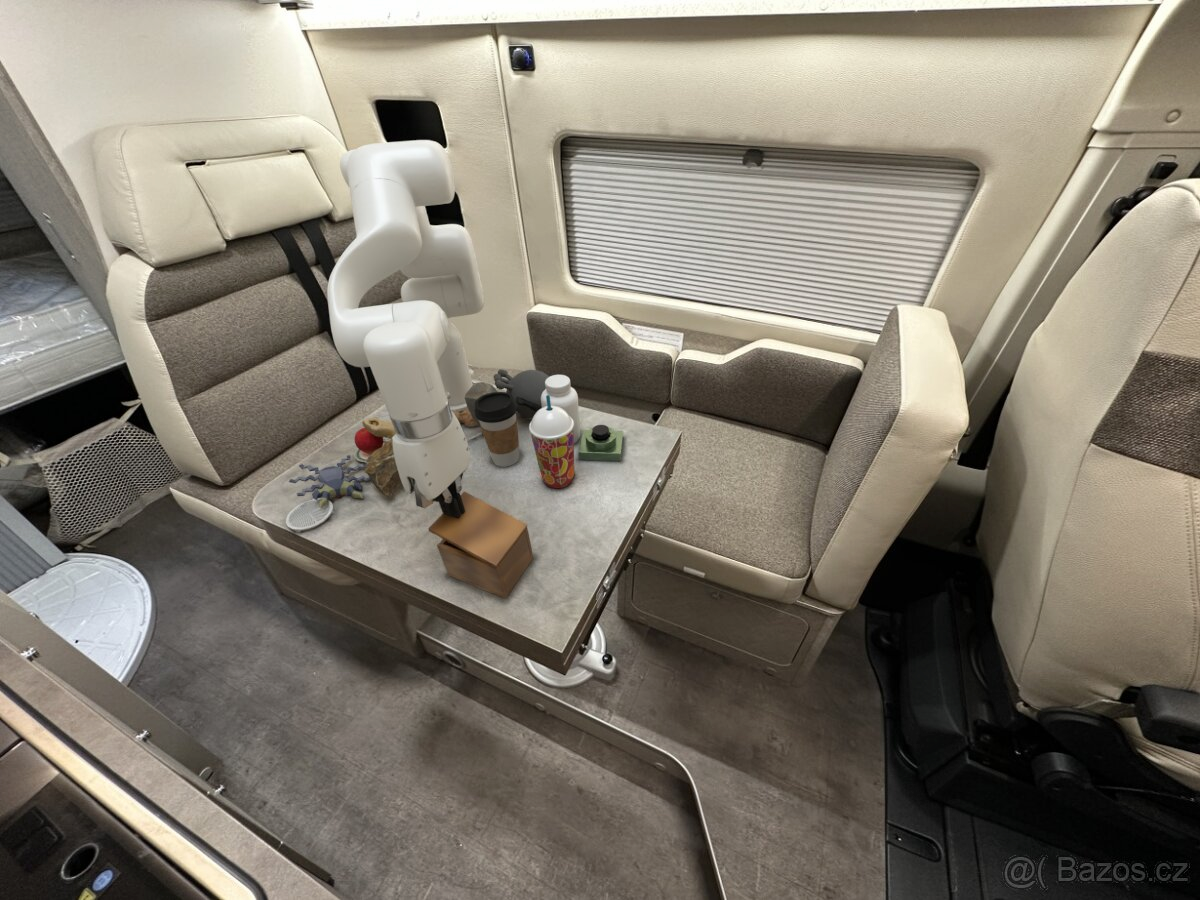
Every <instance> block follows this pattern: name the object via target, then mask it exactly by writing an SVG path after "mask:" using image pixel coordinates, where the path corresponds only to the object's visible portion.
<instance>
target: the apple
mask: <svg viewBox="0 0 1200 900" xmlns="http://www.w3.org/2000/svg"><path fill="white" fill-rule="evenodd" d="M388 441H389V440H388V439H384V437H377V436H375V435H374V434H372V433H370V432H369V431H367V430H366V429H365V427H362V428H360V429H359V430H358V431H356V432H355V434H354V444H355V446H356V450H355V452H354V459H356V460H357V461H358V462H361V463H366V461H367V460H368V457H369V456H370V455H371V454H372V453H373V452H374V451H376V450H377V449H379V448H381V447H382V446H383V445H384V444H385V443H386V442H388Z"/></svg>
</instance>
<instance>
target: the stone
mask: <svg viewBox="0 0 1200 900" xmlns="http://www.w3.org/2000/svg"><path fill="white" fill-rule="evenodd" d="M493 392H498V390H497V388H496V387H495V386H494V385H493V384H491V383H489V382H484V381H478V382H476V383H474V384H473V386H472V387H471V388H470V389H469V391H467V392H466V394H465V401H466V405H467V407H468V410H469V412H470V413H471V415H472V417H473V419H474V420H475V422H476V423H477V424H478V426H479V427H480V425H479V420H478V419H477V418H476V416H475V411H474V410H475V401H476V400H477V399H478V398H479V397H481V396H483V395H485V394H488V393H493Z"/></svg>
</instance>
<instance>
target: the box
mask: <svg viewBox="0 0 1200 900" xmlns="http://www.w3.org/2000/svg"><path fill="white" fill-rule="evenodd" d="M441 539H442V538H441ZM531 543H532V542H531V539H530V534H529V529H528V527H527V528H526V529H525V530H524V532H523V533H522V534H521V536H520V537H519V538H518V540H517V541H516V542H515V544H514V545H513V546H512V548H511V549H510V550H509V552H508V553H507V554H506V556H505V557H504V558H503V560H502V561H501V562H500V564H499V565H498V566H497V567H496V568H495V567H493V566H491V565H489V564H487V563H486V562H484V561H482V560H480V559H478V558H477V557H475V556H473V555H471V554H469V553H467V552H466V551H464V550H462V549H460V548H458V547H457V546H455V545H453V544H451V543H449V542H448V541H446V540H444V539H442V540H440V541H439V543H438V544H437V545H436V547H437V550H438V553H439V555H440V558H441V560H442V562H443V566H444V568H445V570H446V573H447V575H448V577H452V578H453V579H454V578H455V579H456V580H459V581H461V582H464V583H466V584H469V585H471V586H473V587H475V588H478V589H480V590H483V591H485V592H488V593H490V594H493V595H495V596H497V597H500V598H502V599H506V598H508V595H509V594H510V593H511V591H512V590H513V588H514V587H515V585H516V584H517V582H518V581H519V580H520V578H521V577H522V575H523V574H524V572H525V571H526V570H527V568H528V567H529V566H530V564H531V563H532V561H533V559H534V553H533V549H532V544H531Z"/></svg>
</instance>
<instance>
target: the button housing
mask: <svg viewBox="0 0 1200 900" xmlns="http://www.w3.org/2000/svg"><path fill="white" fill-rule="evenodd" d="M606 426H607V427H608V428H609V438H608V439H606V440H603V441H597V440H595V439H594V438H593V434H592V429H593V427H590V428H589V429H583V430H582V433H581V437H580V443H579V447H578V454H577V455H578V460H579V461H596V462H597V461H598V462H599V461H601V462H621V461H622V454H623V453H622V452H623V444H624V431H623V430H615V429H614V428H613V427H611V426H608V425H606Z"/></svg>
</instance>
